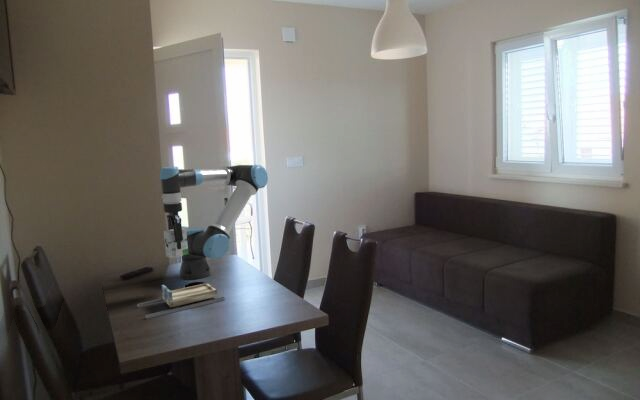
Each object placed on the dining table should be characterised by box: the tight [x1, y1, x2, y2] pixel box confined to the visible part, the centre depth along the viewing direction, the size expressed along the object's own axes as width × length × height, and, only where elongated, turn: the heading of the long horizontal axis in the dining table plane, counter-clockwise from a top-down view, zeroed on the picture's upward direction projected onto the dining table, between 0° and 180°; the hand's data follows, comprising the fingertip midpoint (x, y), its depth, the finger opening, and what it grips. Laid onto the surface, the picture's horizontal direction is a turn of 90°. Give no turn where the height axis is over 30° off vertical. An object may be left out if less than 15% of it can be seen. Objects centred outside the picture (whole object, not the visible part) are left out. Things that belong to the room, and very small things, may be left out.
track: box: [136, 296, 225, 319], centre depth 188 cm, size 16×31×1 cm, turn 123°
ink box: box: [163, 227, 189, 259], centre depth 202 cm, size 9×5×12 cm, turn 134°
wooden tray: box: [161, 282, 218, 309], centre depth 190 cm, size 12×19×7 cm, turn 123°
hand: (177, 254), depth 203 cm, fingers closed on ink box, 6 cm apart
